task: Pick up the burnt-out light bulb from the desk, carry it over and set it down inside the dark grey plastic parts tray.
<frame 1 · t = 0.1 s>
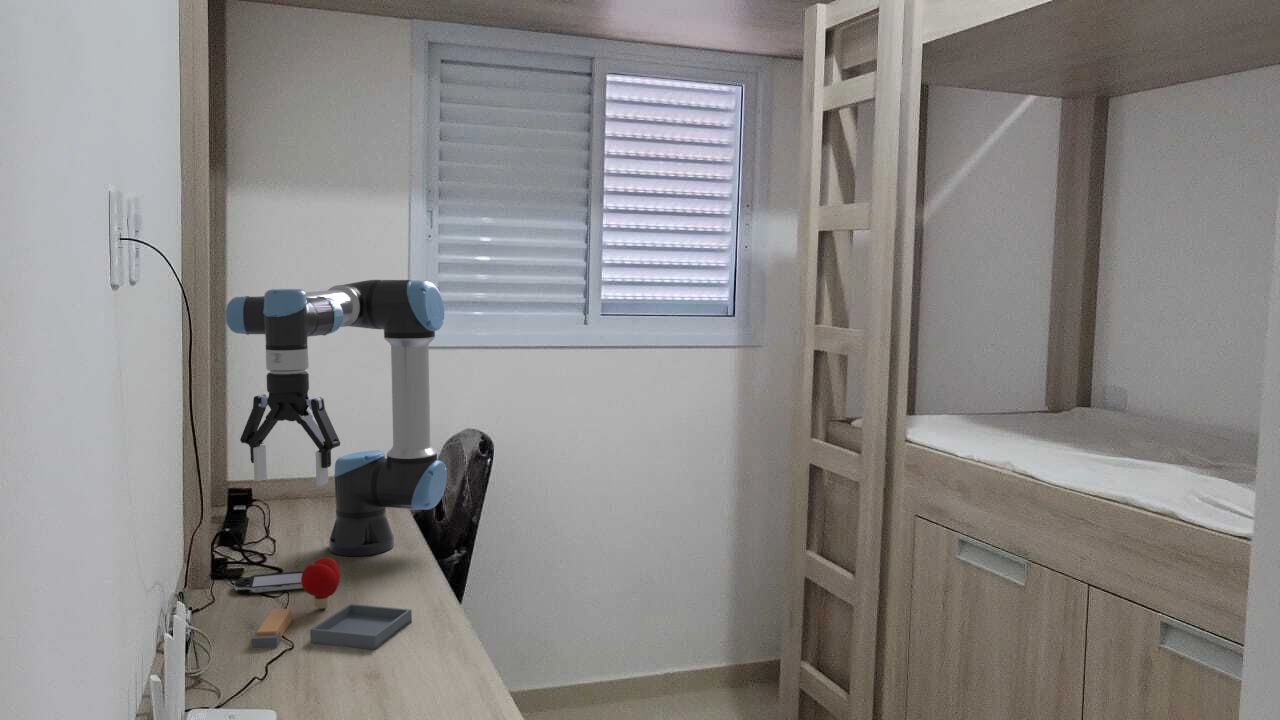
hand: (291, 482, 196), 28 cm above the table, fingers open, 13 cm apart
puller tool: (275, 632, 195), on the table
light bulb: (322, 610, 207), on the table
gaming console: (283, 588, 222), on the table
parts tray: (362, 632, 195), on the table
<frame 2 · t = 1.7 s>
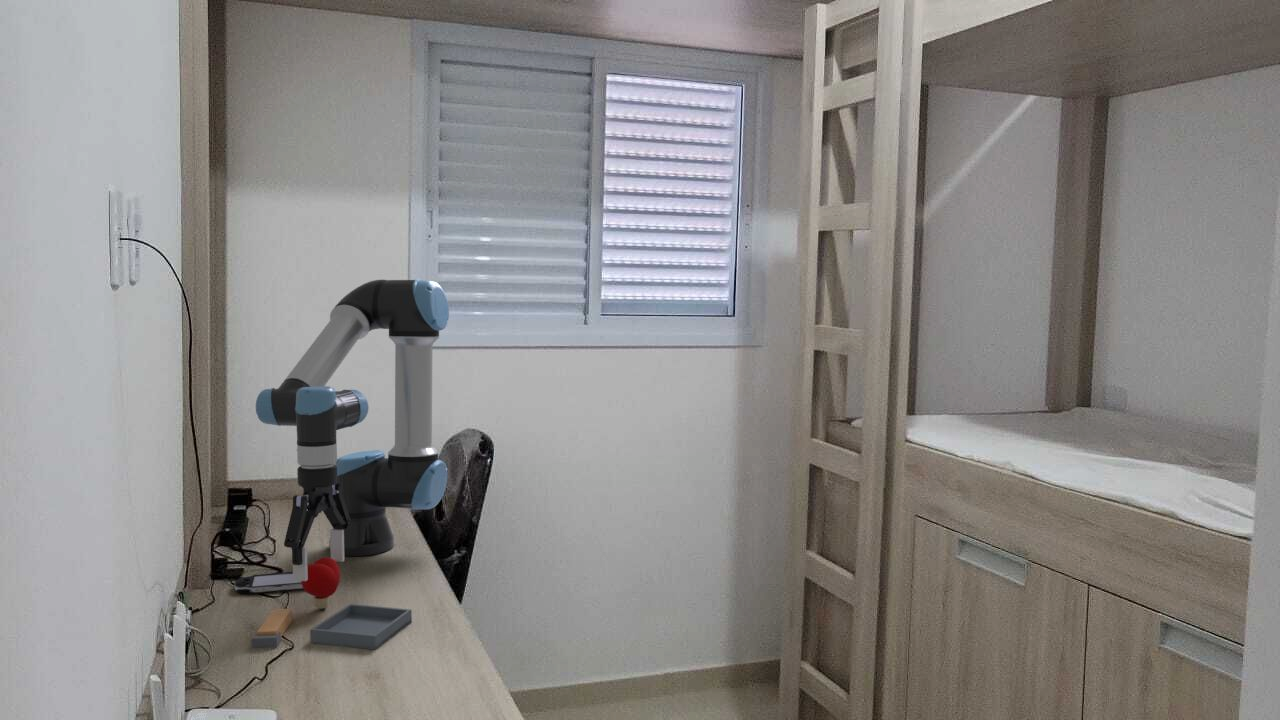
hand: (319, 570, 206), 8 cm above the table, fingers open, 13 cm apart
nothing on the table moved.
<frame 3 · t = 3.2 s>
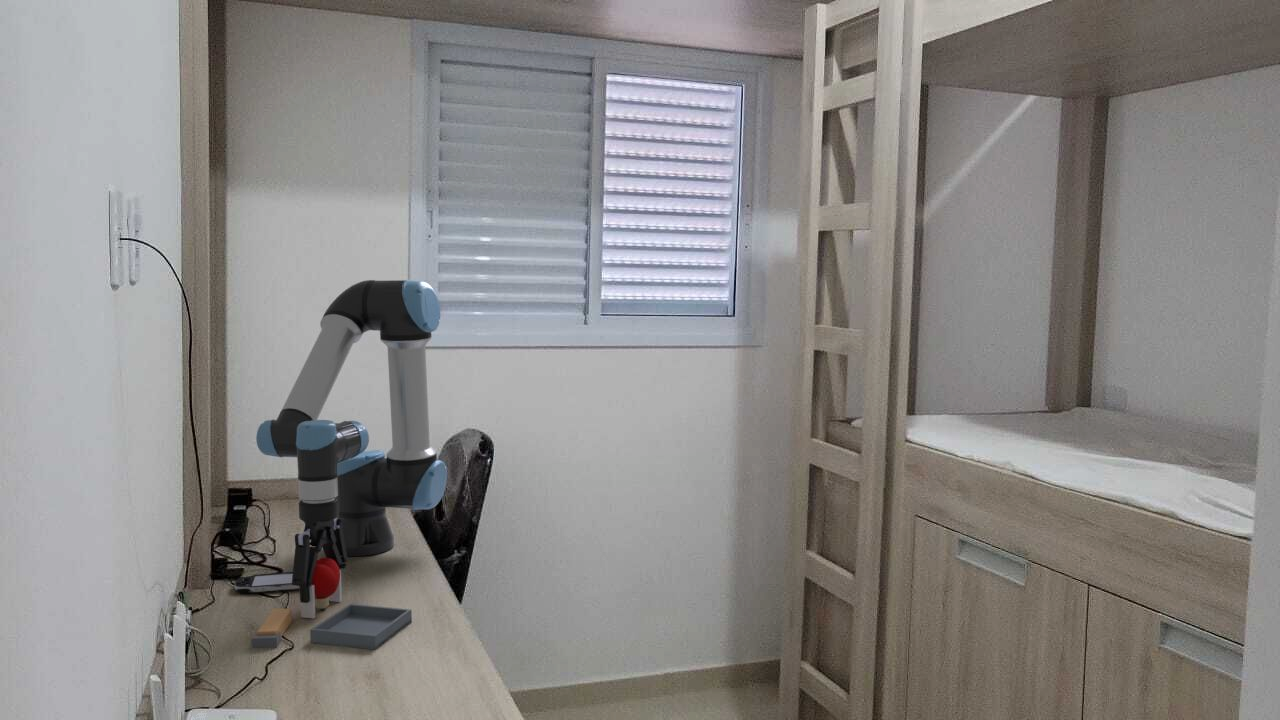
hand: (321, 608, 207), 0 cm above the table, fingers closed on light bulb, 9 cm apart
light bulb: (322, 610, 207), on the table, touching gripper
everything else where it was.
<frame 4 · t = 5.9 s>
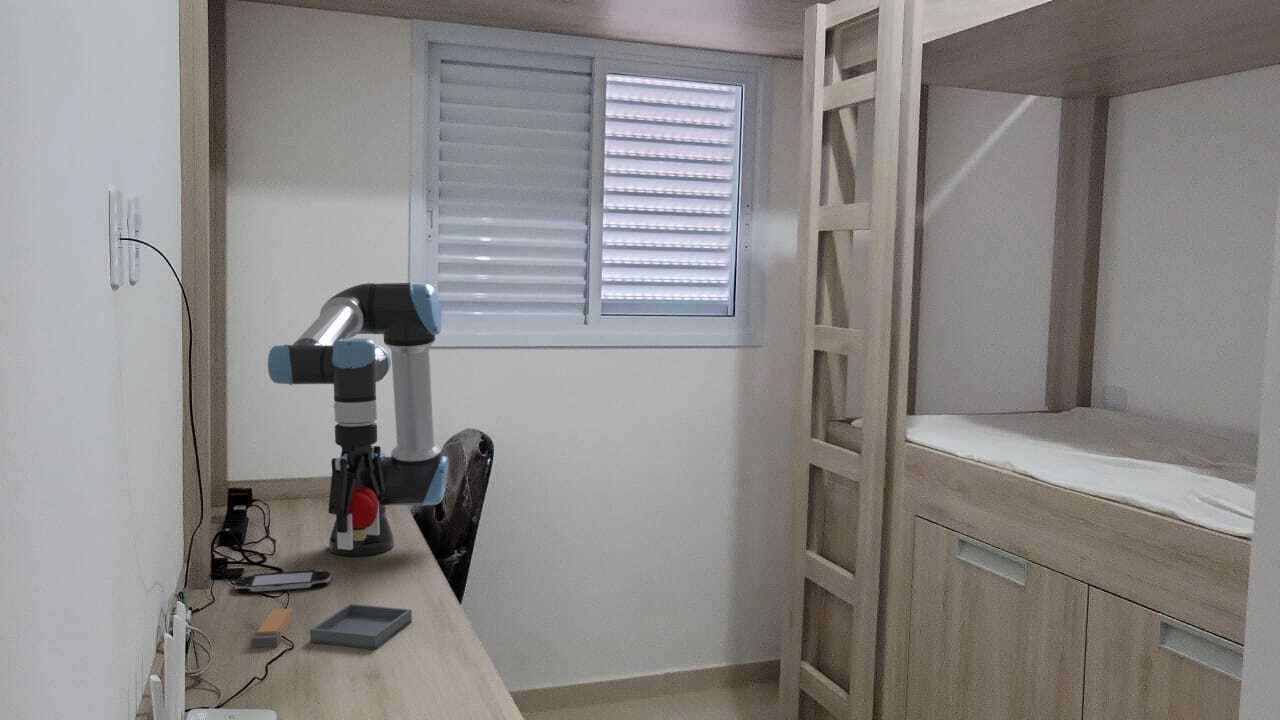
hand: (359, 541, 193), 18 cm above the table, fingers closed on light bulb, 9 cm apart
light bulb: (359, 543, 193), point 17 cm above the table, touching gripper
everything else where it was.
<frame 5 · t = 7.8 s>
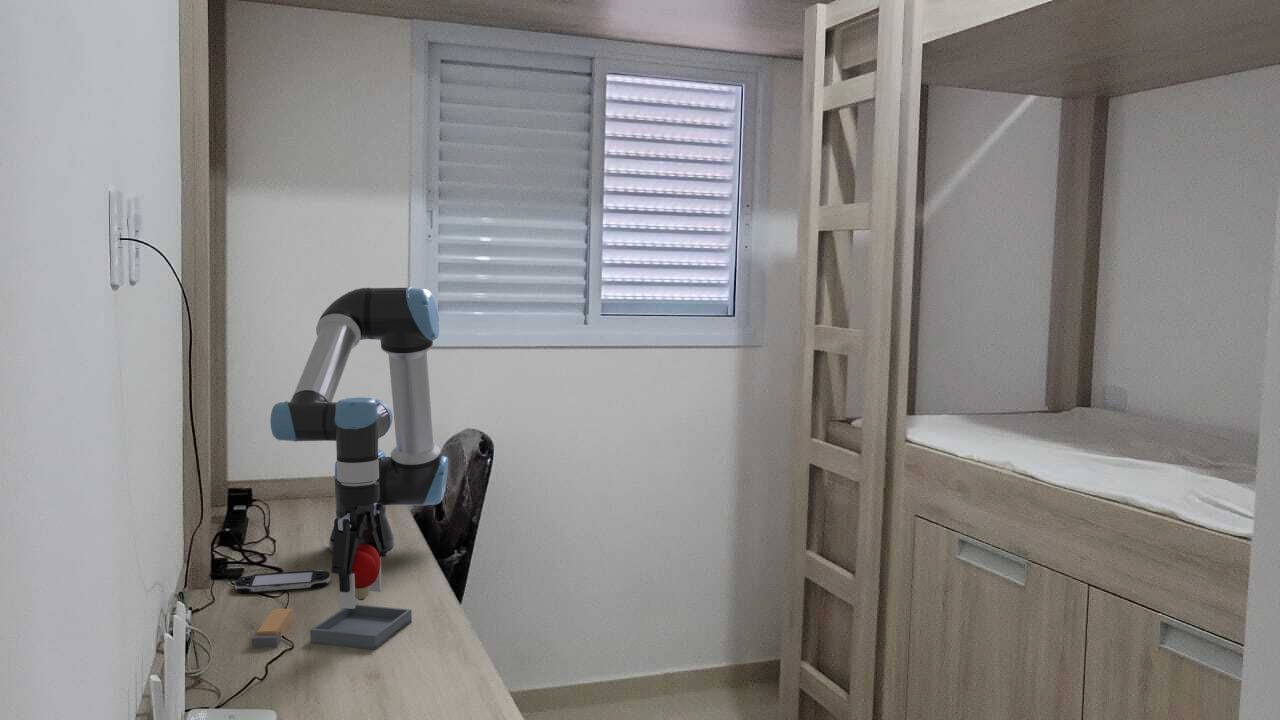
hand: (361, 598, 194), 6 cm above the table, fingers closed on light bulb, 9 cm apart
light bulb: (361, 600, 194), point 6 cm above the table, touching gripper
everything else where it was.
when the fingers open (3 cm above the table, at t = 9.1 s): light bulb drops 2 cm, resting on parts tray.
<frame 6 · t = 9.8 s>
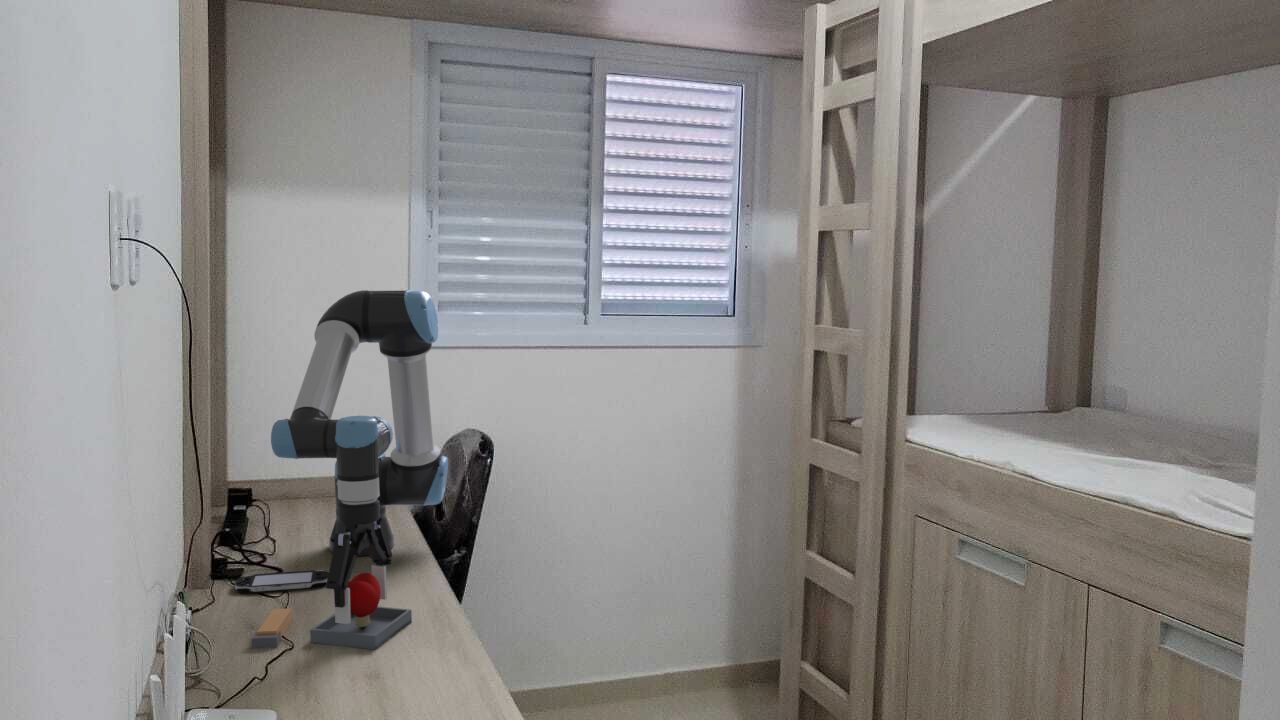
hand: (361, 610, 195), 4 cm above the table, fingers open, 13 cm apart
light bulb: (362, 628, 195), resting on parts tray
everything else where it was.
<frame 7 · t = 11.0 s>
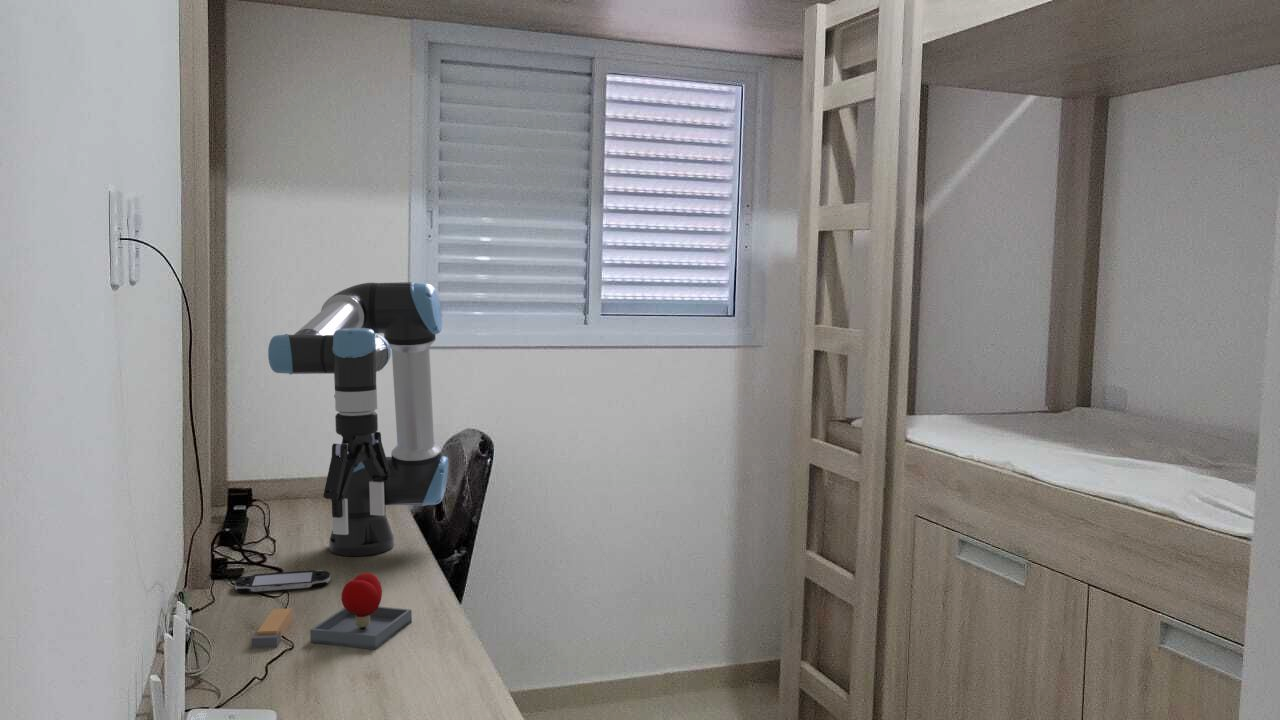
hand: (359, 524, 193), 21 cm above the table, fingers open, 13 cm apart
nothing on the table moved.
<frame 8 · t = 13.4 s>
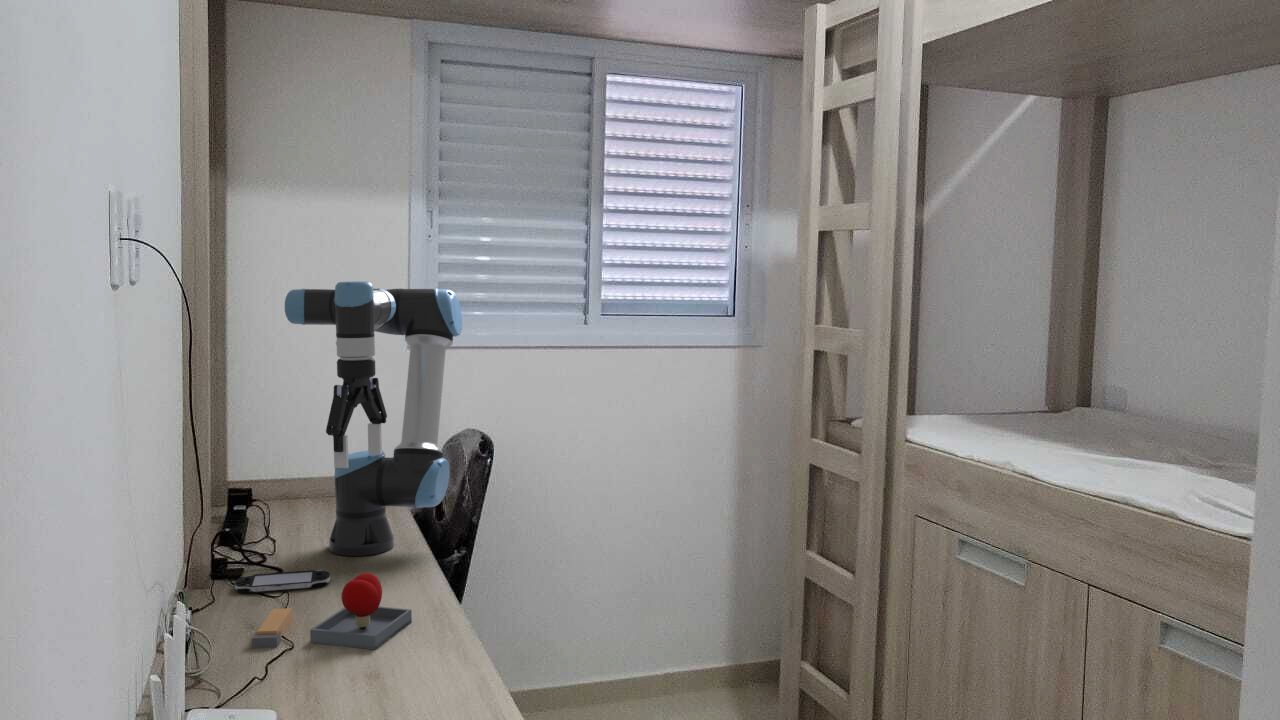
hand: (358, 461, 212), 29 cm above the table, fingers open, 13 cm apart
nothing on the table moved.
at the end: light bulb inside the target area on the parts tray (0.3 cm from its centre), point 0.4 cm above the parts tray's base; the gripper is holding nothing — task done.
